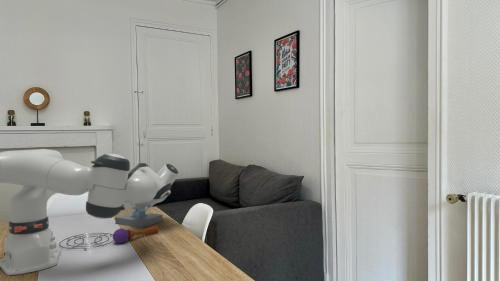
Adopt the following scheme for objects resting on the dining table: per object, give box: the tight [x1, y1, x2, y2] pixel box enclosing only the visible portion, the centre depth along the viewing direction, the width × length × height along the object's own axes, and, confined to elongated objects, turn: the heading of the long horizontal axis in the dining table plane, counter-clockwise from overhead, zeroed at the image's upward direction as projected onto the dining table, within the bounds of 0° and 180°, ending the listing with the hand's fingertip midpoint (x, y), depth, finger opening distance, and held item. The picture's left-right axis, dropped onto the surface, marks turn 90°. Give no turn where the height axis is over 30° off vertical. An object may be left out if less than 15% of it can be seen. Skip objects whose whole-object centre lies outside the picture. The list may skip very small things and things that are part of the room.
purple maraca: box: [112, 225, 160, 244], centre depth 145 cm, size 6×6×20 cm
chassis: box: [114, 211, 164, 228], centre depth 172 cm, size 18×14×3 cm
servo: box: [131, 206, 147, 218], centre depth 172 cm, size 7×4×9 cm, turn 60°
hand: (141, 208), depth 172 cm, fingers open, 8 cm apart
